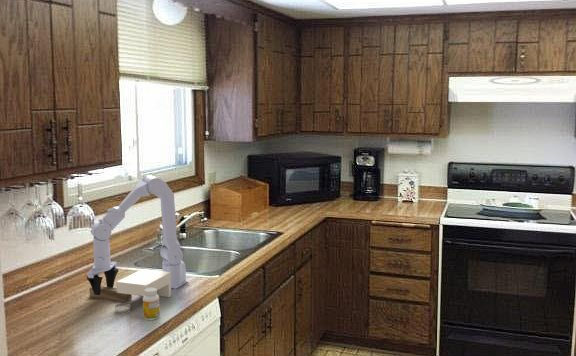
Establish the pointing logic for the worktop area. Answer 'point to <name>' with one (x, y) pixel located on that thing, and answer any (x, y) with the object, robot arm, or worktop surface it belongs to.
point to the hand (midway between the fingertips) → (103, 291)
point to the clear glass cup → (122, 308)
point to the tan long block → (110, 294)
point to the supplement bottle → (151, 304)
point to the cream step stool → (146, 283)
